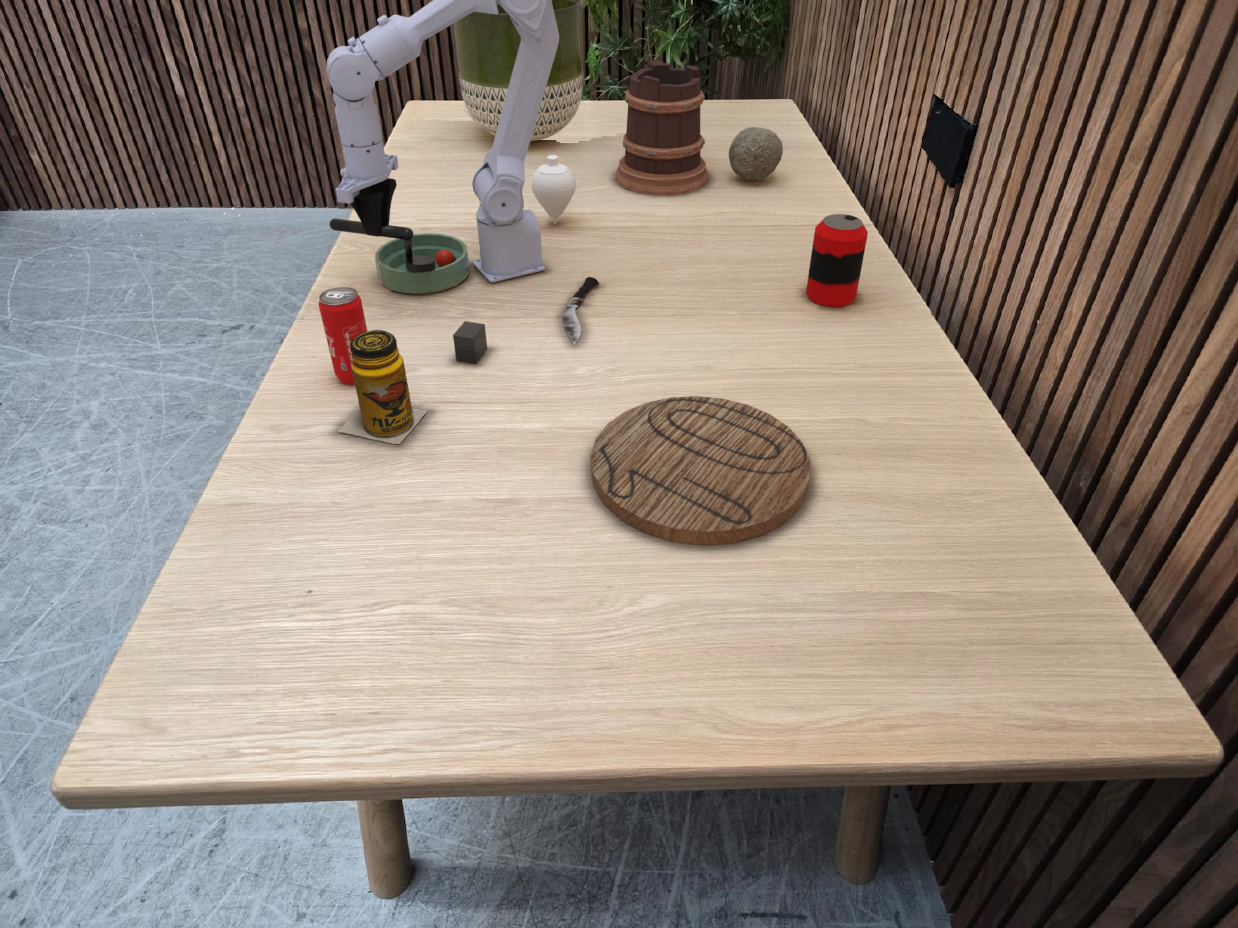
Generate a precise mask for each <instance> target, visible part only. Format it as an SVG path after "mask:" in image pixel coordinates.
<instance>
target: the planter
mask: <svg viewBox="0 0 1238 928" xmlns="http://www.w3.org/2000/svg"><path fill="white" fill-rule="evenodd" d="M552 6H553V10H554V15H555V19H556V23H557V28H558V32H559V44H558V47H557V51H556V54H555V58H554V61H553V64H552V68H551V71H550V75H549V78H548V82H547V85H546V89H545V92H544V95H543V99H542V102H541V106H540V109H539V113H538V116H537V119H536V123H535V126H534V130H533V133H532V137H531V140H530V142H536V141H542V140H545V139H548V138H550V137H553V136H554V135H556V134H558V133H559V132H561V131H562V130H563V129H564V128H566V127H567V126H568V124H569V123H570V122H571V121H572V120H573V118H574V117H575V116H576V114H577V112H578V110H579V108H580V105H581V101H582V97H583V91H584V81H585V79H584V77H585V75H584V74H585V73H584V72H585V70H584V69H585V67H584V65H585V61H584V60H585V52H584V51H585V50H584V49H585V47H584V46H585V45H584V41H585V40H584V22H585V21H584V20H585V19H584V17H585V16H584V0H552ZM497 8H498V13H499V14H489V13H482V12H472V13H471V14H469V15H467V16H465V17H464V18H462V19H460V20H458V21H457V22H455V23H453V24H452V25H451V27H452V34H453V35H452V36H453V41H454V42H453V43H454V52H455V59H456V67H457V75H458V81H459V89H460V93H461V97H462V99H463V103H464V105H465V108H466V110H467V112H468V113H469V115H470V117H471V118H472V119H473V120H474V121H475V123H477V125H478V126H480V127H481V128H482V129H483V130H485V132H488V133H489V134H491V135H492V136H494V137H495V135H496V131H497V128H498V124H499V120H500V117H501V113H502V109H503V105H504V102H505V98H506V94H507V91H508V87H509V83H510V79H511V76H512V72H513V68H514V65H515V61H516V57H517V54H518V50H519V46H520V42H521V37H520V35H519V33H518V31H517V29H516V28H515V26H514V24H513V22H512V20H511V18H510V16H509V14H508V13H507V12H506V11H505V10H504V9H503V8H502V7H501V6H500V5H497Z"/></svg>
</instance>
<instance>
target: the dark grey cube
mask: <svg viewBox="0 0 1238 928" xmlns="http://www.w3.org/2000/svg"><path fill="white" fill-rule="evenodd" d="M486 332H487V331H486V324H485V323H481V322H473V321H467V320H464V321H463V323H461V325H460V326H459V327H458V328H457V330H455V332H454V333H453V334H452V339H453V340H452V341H453V346H454V354H455V361H456V362H459V363H465V364H471V365H477V364H478V363H479V362H480V360H481V359H482V358H483V356H485V354H486V353H487V352H488V340H487V333H486Z"/></svg>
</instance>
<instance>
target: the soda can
mask: <svg viewBox="0 0 1238 928" xmlns="http://www.w3.org/2000/svg"><path fill="white" fill-rule="evenodd" d="M868 234H869V232H868V229H867V228H866V226H865V225H864V222H863V220H861V219H860V218H859V217H857V216H854V215H850V214H847V213H834V214H828V215H826V216H824V217H823V218H822V219H821V221H820V222H819V223H817V225H816V226H815V228H814V233H813V240H812V246H811V253H810V254H811V255H810V261H809V269H808V275H807V282H806V290H805V294H806V296H807V297H808V299H809V300H810V301H811V302H813V303H814V304H816V305H819V306H822V307H826V308H842V307H846V306H849V305H851V304H852V303H853V302H854V301H856V299H857V295H858V290H859V283H860V278H861V272H862V269H863V268H862V267H863V263H864V257H865V253H866V252H865V251H866V246H867V241H868V236H869V235H868Z"/></svg>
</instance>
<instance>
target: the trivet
mask: <svg viewBox="0 0 1238 928" xmlns="http://www.w3.org/2000/svg"><path fill="white" fill-rule="evenodd" d="M590 453H591V454H590V469H591V477H592V479H591V480H592V486H593V488H594V490H595V492H596V493H597V495H598V498H599V499H600V502H601V503H602V505H604V506H605V507H606V508H607V509H608V510H609V511H610V512H611V513H612V514H613V515H615V516H616V518H617V519H619V520H620V521H622V522H623V523H625V524H627V525H629V526H630V527H632V528H634V529H636V530H638V531H640V532H642V533H643V534H646V535H650V536H653V537H656V538H659V539H663V540H666V541H670V542H673V543H682V544H692V545H699V546H707V545H708V546H709V545H711V546H712V545H723V544H726V545H727V544H736V543H740V542H744V541H746V540H751V539H753V538H758V537H761V536H762V537H763V535H766V534H767V533H769V532H771V531H774V530H775V529H776V528H779V527H781V526H782V525H784V524H786V523H787V522H788V521H789V520H790V519H791V517H793V516H794V515H795V514H796V513H797V512H798V511H799V510H800V509H801V506H802V504H803V502H804V500H805V498H806V496H807V493H808V491H809V486H810V482H811V481H810V480H811V459H810V456H809V454H808V451H807V450H806V447H805V444H804V442H803V441H802V440H801V438H799V436H798V435H797V434H796V433H795V432H794V431H793V430H792V429H791V428H790V426H788V425H787V424H786V423H784V422H782V421H781V420H780V419H778V418H776V417H775V416H774V415H772V414H771V413H768V412H766V411H764V410H761V409H759V408H757V407H754V406H751V405H749V404H747V403H743V402H738V401H735V400H731V399H726V398H722V397H711V396H701V395H690V396H689V395H688V396H672V397H671V396H670V397H667V398H661V399H657V400H652V401H648V402H645V403H642V404H640V405H637V406H635V407H632V408H629V409H627V410H625V411H624V412H622V413H621V414H619V415H618V416H616V417H615V418H613V419H611V420H610V421H609V422H608V423H607V424H606V425H605V426H604V428H603V429H602V430H601V432H599V433H598V435H597V436H596V438H595V440H594V443H593V447H592V450H591V452H590Z"/></svg>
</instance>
